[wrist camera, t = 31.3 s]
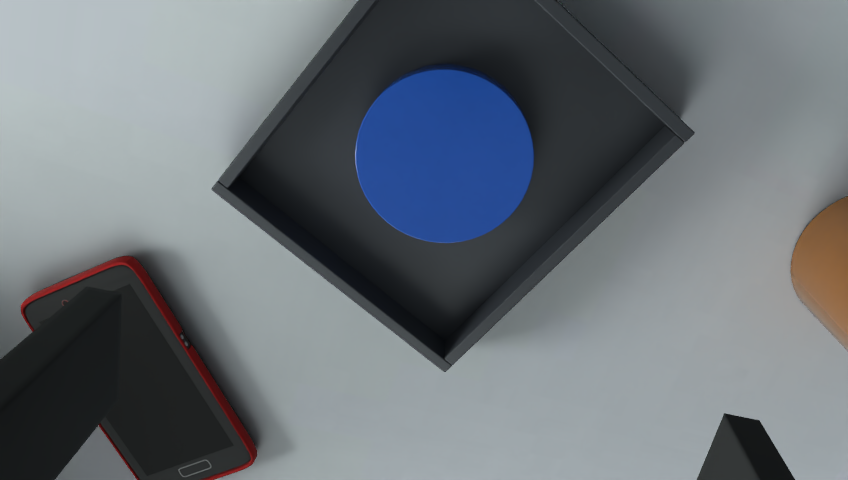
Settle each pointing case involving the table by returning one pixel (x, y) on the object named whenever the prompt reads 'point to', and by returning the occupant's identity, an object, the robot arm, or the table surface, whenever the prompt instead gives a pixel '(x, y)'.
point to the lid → (444, 154)
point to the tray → (510, 241)
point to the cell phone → (156, 383)
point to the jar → (825, 269)
